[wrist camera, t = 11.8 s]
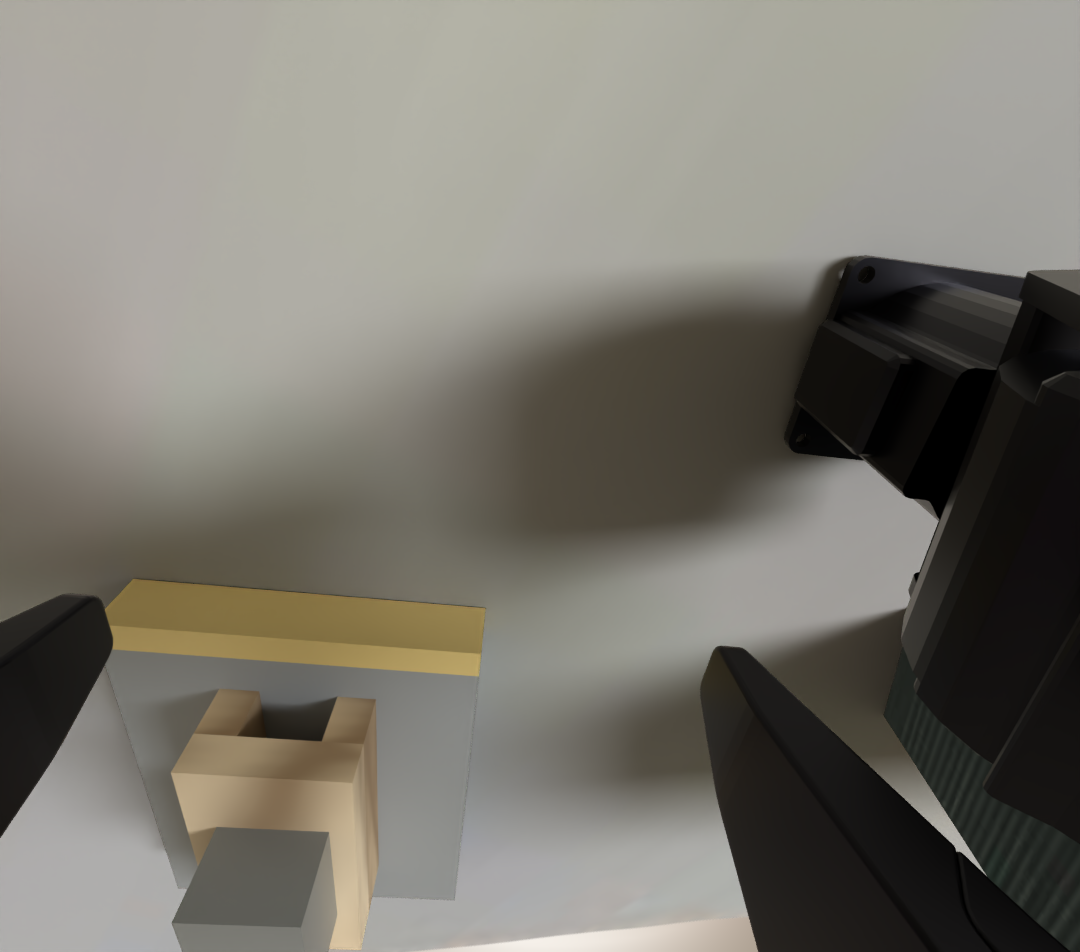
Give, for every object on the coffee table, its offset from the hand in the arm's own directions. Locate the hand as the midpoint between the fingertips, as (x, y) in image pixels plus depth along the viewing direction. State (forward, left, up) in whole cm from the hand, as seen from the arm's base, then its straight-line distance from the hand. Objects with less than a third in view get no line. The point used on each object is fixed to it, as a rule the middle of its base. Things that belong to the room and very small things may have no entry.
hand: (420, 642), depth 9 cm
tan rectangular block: (+6, +19, -10) cm, 22 cm away
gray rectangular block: (+6, +19, -6) cm, 21 cm away
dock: (+6, +19, -12) cm, 23 cm away
